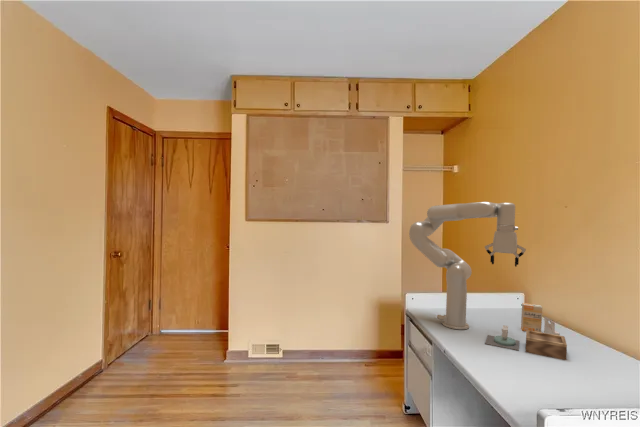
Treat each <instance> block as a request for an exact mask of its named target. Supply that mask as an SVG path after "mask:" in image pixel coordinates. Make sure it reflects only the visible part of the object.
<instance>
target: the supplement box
mask: <svg viewBox="0 0 640 427" xmlns="http://www.w3.org/2000/svg"><path fill="white" fill-rule="evenodd" d="M542 320H543V306H542V305H540V304H533V303H527V302H522V304H521V321H520V323H521V324H520V329H521V331H523V332H526V330H530V331H536V332H542V324H543V323H542Z"/></svg>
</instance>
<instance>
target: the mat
mask: <svg viewBox="0 0 640 427" xmlns="http://www.w3.org/2000/svg"><path fill="white" fill-rule="evenodd" d="M495 336H496V335H490V334H487V337H486V339H485V342H484V345H486V346H493V347H498V348H502V349H508V350H512V351H518V352H519V351H520V340H516V339H515V340H516V345H515V346H505V345H501V344H498V343H496V342H495V341H494V337H495Z"/></svg>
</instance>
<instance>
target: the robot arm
mask: <svg viewBox="0 0 640 427" xmlns="http://www.w3.org/2000/svg"><path fill="white" fill-rule="evenodd" d="M426 216H427V217H426V218H425V219H424V220H420V221H415V222H413V223H412V224H411V226H410V227H409V232H408V234H409V235H408V236H409V239H410V242H411V243H412V245H413V246H414V247H415V248H416V249H417V250H418V251H419V252H420V253H421V254H423V255H424V256H425V257H426V258H427V259H428V260H429V261H431V263H432V264H433V265H435V266H436V267H438V268H445V269H446V274H445V279H446V300H445V301H446V304H445V314H444V315H441V314H437V315H436V318H437V319H438V320H441V321H442V322H441V323H442V325H443V326H444V327H446V328H448V329H453V330H458V331H459V330H468V329H469V328H470V324H468V323H467V298H468V297H467V295H468V294H467V293H468V287H467V286H468V285H467V280H468V279H469V278H470V277H471V275H472V274H473V273H472V271H473V270H472V268H471V266H470V264H469V263H467V261H465V260H464V259H462V258H461V257H460V256H459V255H458V254H457V253H455V252H454V251H453V250H451V249H449V248H443V247H441V246H439V245H438V244H436V243H435V241H433V240H431V238H429V236H431V235H433V234H434V232H436V231H437V230H438V229H439V227H441V226H442V225H443V224H444V222H453V221H457V222H458V221H462V220H463V221H464V220H466V219H467V220H468V219H477V218H478V219H482V218H484V219H486V218H487V219H490V218H491V219H492V218H496V230H495V231H494V234H493V239H492V240H493V242H492V243H488V244H487V245H484V249H485V250H486V252H487V254H489V257H490V261H489V262H490V263H491V265H494V264H495V254H496V253H500V254H513V255H514V256H515V258H514V266H515V268H516V267H518V265H519V262H520V259H519V258H521V257H522V256H523V255H524V254H525V253H526V251H527V248H524V247H522V246H521V245H519V244H518V236H517V235H518V234H517V232H515V231H517V230H518V231H519V227H518V226H515V225H516V221H515V220H516V204H515V203H513V202H500V203H496V202H491V201H479V202H468V203H467V202H466V203H452V204H451V203H449V204H440V205H432V206H430V207H428V209H427V212H426ZM491 247H492V251H491V250H490V248H491ZM518 249H519V250H520V251H521V252H519V253H517V252H518Z"/></svg>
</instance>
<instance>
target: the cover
mask: <svg viewBox="0 0 640 427" xmlns="http://www.w3.org/2000/svg"><path fill="white" fill-rule="evenodd" d="M508 333H509V325H502V328H501V335H494V336H495V337H494V341H495V342H496V343H498V344H501V345H505V346H515V345H516V339H515V338H513V337H510V336H508Z"/></svg>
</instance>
